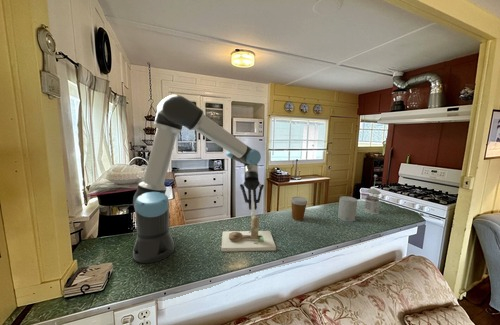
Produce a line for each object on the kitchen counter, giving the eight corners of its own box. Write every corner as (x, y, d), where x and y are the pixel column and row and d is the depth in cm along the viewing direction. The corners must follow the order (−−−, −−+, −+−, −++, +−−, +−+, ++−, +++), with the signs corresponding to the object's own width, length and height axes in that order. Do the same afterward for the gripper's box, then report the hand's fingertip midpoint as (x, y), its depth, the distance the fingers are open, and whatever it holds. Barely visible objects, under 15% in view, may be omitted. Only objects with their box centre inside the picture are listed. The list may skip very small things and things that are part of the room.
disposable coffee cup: (306, 223, 112) (308, 202, 111) (289, 221, 114) (290, 200, 112) (305, 216, 122) (307, 197, 120) (289, 214, 124) (290, 195, 122)
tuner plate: (221, 251, 83) (221, 247, 83) (222, 234, 97) (222, 231, 97) (275, 250, 86) (275, 246, 85) (269, 233, 99) (269, 230, 99)
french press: (372, 208, 138) (377, 173, 134) (385, 215, 127) (390, 177, 123) (359, 208, 137) (363, 172, 134) (370, 215, 126) (375, 176, 122)
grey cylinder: (334, 217, 121) (336, 198, 119) (341, 213, 128) (343, 195, 126) (351, 223, 114) (353, 202, 112) (357, 218, 121) (360, 199, 119)
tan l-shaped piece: (228, 241, 88) (228, 219, 86) (229, 234, 94) (230, 213, 92) (261, 242, 87) (262, 220, 86) (261, 235, 93) (262, 215, 92)
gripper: (239, 170, 107) (239, 212, 93) (263, 170, 108) (267, 212, 95) (239, 177, 113) (239, 218, 99) (262, 178, 114) (265, 218, 101)
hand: (253, 215), depth 97 cm, fingers closed
